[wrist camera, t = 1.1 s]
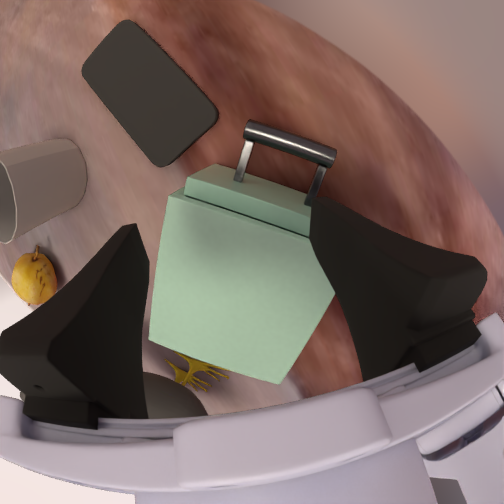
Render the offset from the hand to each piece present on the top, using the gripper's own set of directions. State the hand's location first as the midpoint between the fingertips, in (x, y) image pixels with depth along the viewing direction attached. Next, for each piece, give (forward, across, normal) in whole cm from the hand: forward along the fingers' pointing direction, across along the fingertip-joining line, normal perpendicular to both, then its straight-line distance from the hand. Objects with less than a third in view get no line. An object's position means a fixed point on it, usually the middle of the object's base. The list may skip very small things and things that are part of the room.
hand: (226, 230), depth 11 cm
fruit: (+18, +25, +13) cm, 34 cm away
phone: (+17, +6, -6) cm, 19 cm away
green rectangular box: (+10, -2, +10) cm, 15 cm away
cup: (+19, +18, +2) cm, 26 cm away
